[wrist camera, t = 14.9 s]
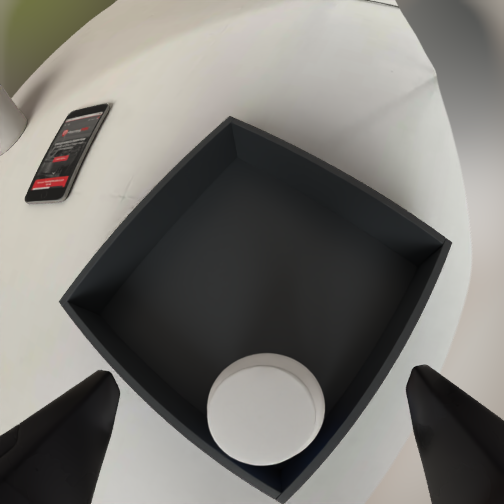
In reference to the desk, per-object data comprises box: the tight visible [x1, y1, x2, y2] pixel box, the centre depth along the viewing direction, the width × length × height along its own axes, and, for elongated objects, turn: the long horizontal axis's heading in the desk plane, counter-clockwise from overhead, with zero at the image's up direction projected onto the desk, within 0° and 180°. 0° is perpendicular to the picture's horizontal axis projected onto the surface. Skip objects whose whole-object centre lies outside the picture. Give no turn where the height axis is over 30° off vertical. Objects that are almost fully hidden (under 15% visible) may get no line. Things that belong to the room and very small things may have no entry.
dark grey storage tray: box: [59, 116, 452, 504], centre depth 20 cm, size 19×19×5 cm
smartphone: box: [25, 103, 110, 204], centre depth 30 cm, size 7×1×15 cm
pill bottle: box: [207, 353, 325, 465], centre depth 14 cm, size 6×5×10 cm
